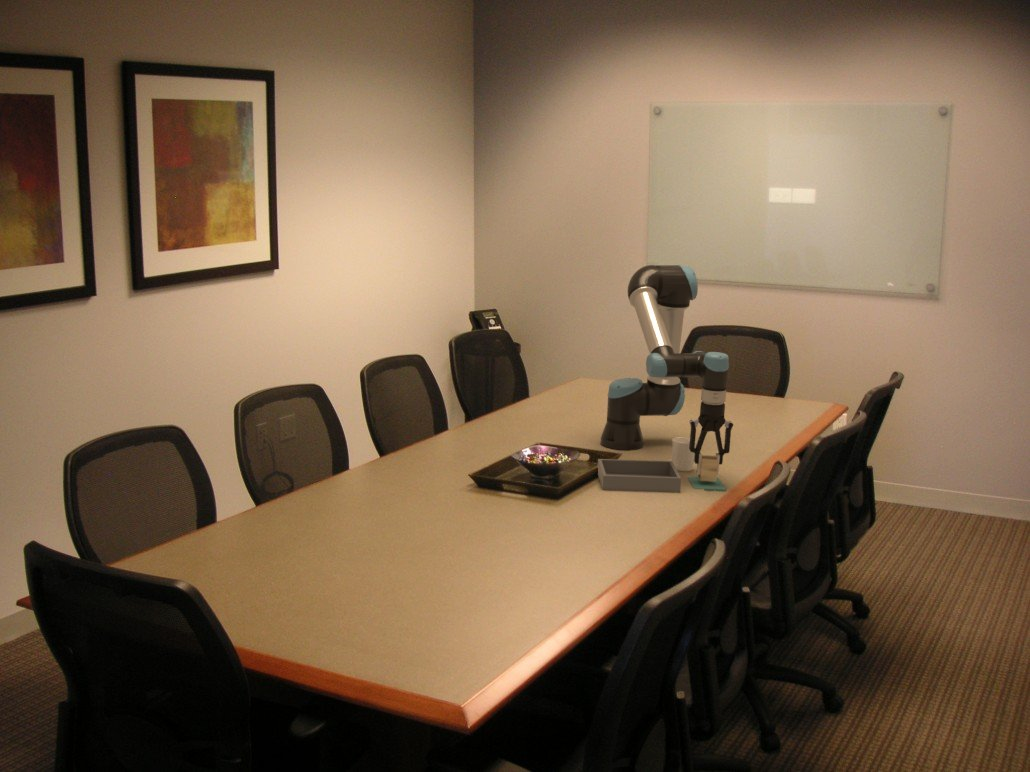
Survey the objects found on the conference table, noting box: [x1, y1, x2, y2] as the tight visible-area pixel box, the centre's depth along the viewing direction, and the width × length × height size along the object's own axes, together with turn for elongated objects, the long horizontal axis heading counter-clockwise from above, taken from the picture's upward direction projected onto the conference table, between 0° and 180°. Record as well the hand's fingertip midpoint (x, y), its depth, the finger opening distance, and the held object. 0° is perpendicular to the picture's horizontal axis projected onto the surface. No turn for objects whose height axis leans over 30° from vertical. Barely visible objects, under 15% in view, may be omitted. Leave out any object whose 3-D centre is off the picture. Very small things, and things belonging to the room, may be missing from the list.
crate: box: [597, 458, 682, 493], centre depth 346 cm, size 18×24×5 cm
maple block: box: [697, 454, 718, 482], centre depth 347 cm, size 5×5×7 cm
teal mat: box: [687, 476, 727, 492], centre depth 348 cm, size 12×10×1 cm
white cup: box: [671, 436, 698, 472], centre depth 362 cm, size 8×8×10 cm
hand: (707, 473), depth 347 cm, fingers closed on maple block, 5 cm apart
